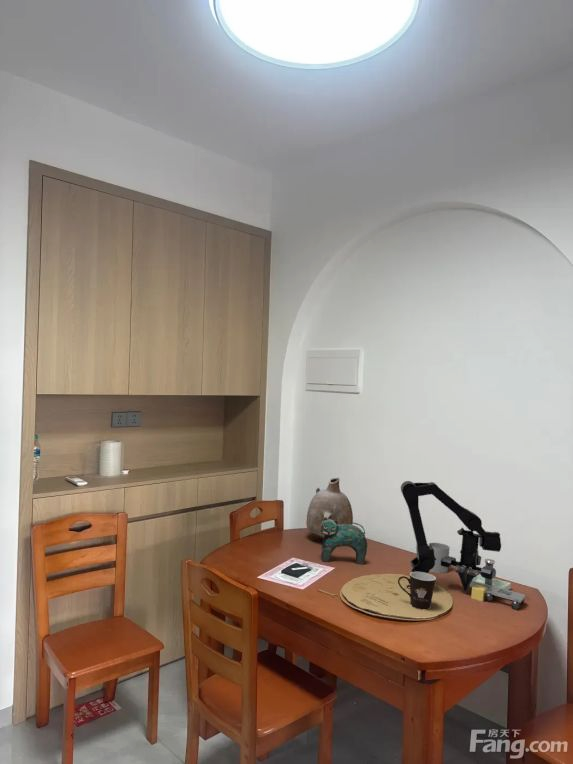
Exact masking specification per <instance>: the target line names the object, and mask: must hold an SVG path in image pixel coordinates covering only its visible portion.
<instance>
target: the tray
mask: <svg viewBox="0 0 573 764" xmlns="http://www.w3.org/2000/svg"><path fill="white" fill-rule="evenodd" d="M476 584H477V585H481V586H485V587H487V588H488V587H489V586H491V585H487V584H485V578H484V577H482V576H481V575H480V574H479V575H478V576H476V577H474V578H473V579H472V581H471V583H470V585H469V588H471V589H472V587H473V586H475V585H476ZM511 584H512V583H511V582H509V581H506V580H505V581H504V580H503V579H502V580H501V579H497V578H495V577H494V578H493V581H492V586H496V587H499V588H503V589H506V590H509V589H510V590H511ZM500 593H503V592H500ZM503 594H506V593H503Z"/></svg>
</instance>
